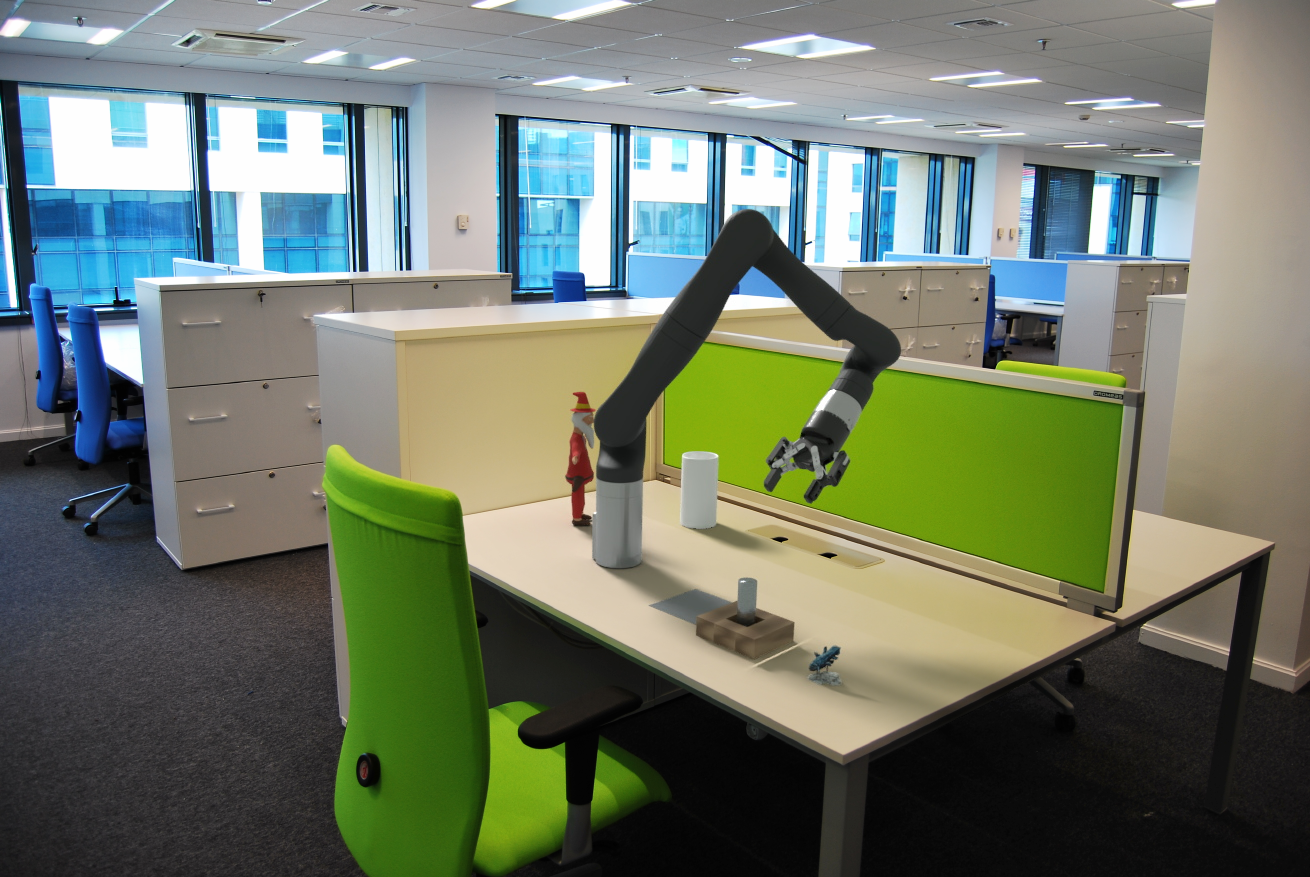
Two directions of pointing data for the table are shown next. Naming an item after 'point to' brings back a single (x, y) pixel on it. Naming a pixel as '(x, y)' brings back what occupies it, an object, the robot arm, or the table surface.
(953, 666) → the table surface
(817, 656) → the sculpture
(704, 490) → the cup
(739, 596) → the peg
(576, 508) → the figurine
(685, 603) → the mat
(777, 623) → the hole block
